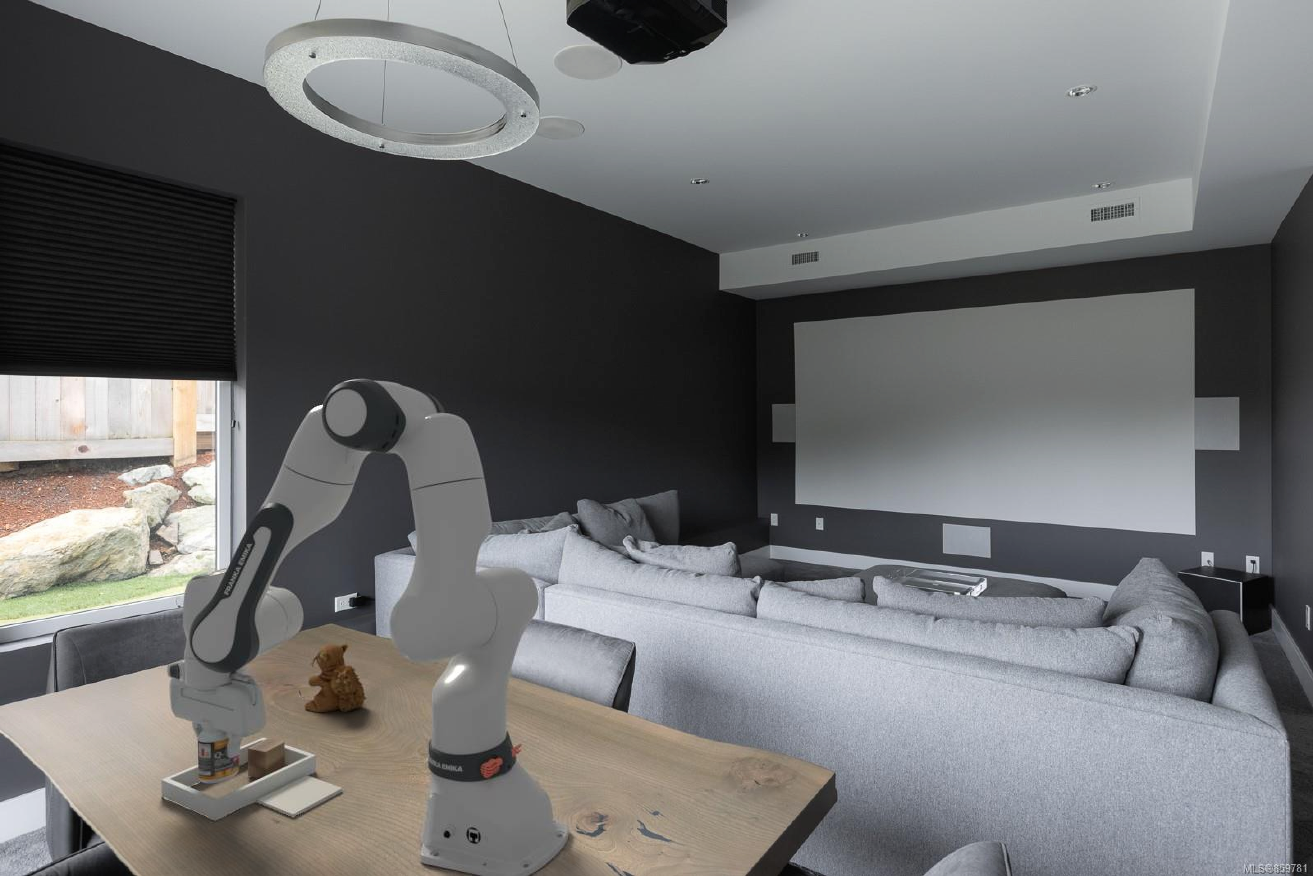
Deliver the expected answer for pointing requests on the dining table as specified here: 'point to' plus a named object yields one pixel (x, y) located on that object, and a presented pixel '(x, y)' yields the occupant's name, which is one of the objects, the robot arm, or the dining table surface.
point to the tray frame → (216, 808)
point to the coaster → (300, 796)
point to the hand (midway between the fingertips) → (218, 751)
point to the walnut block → (266, 758)
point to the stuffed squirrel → (335, 682)
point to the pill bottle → (214, 755)
